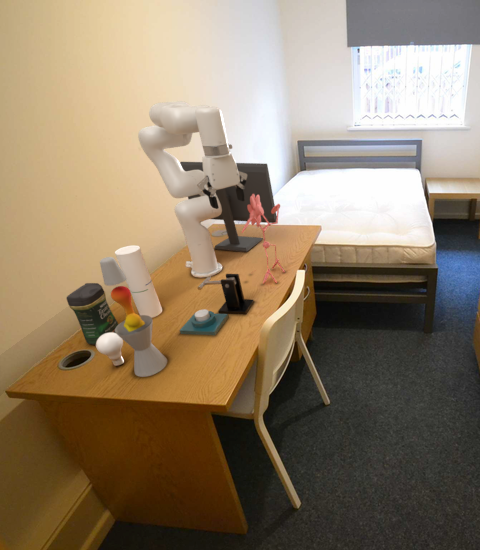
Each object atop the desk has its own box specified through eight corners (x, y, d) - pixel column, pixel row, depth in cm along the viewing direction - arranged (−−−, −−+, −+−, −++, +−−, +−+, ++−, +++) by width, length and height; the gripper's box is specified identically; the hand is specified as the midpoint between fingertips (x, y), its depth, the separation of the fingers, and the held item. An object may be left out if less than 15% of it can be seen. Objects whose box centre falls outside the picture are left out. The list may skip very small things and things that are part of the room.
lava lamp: (128, 367, 106) (79, 260, 89) (160, 351, 112) (120, 248, 95) (140, 382, 101) (90, 271, 84) (173, 364, 107) (133, 257, 90)
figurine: (293, 263, 162) (282, 185, 145) (271, 293, 140) (255, 206, 123) (260, 261, 164) (245, 184, 147) (234, 291, 142) (213, 205, 125)
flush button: (193, 321, 120) (191, 316, 119) (200, 314, 124) (198, 309, 123) (206, 322, 120) (204, 317, 119) (212, 314, 123) (211, 309, 122)
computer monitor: (286, 241, 184) (274, 160, 165) (272, 255, 170) (257, 168, 151) (210, 235, 193) (190, 158, 174) (191, 248, 180) (167, 165, 160)
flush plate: (180, 334, 119) (177, 325, 118) (196, 316, 128) (193, 308, 126) (215, 335, 118) (212, 326, 117) (228, 317, 127) (226, 309, 125)
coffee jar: (107, 346, 115) (83, 296, 106) (83, 346, 115) (57, 297, 106) (125, 327, 123) (105, 280, 114) (103, 327, 124) (80, 280, 115)
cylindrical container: (166, 309, 133) (144, 246, 121) (150, 320, 127) (126, 255, 115) (151, 305, 135) (128, 244, 123) (135, 316, 129) (109, 253, 117)
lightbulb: (114, 357, 110) (100, 328, 105) (135, 356, 110) (122, 327, 105) (102, 372, 105) (87, 342, 99) (125, 371, 105) (111, 341, 100)
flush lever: (198, 291, 126) (196, 285, 125) (208, 281, 132) (206, 275, 131) (231, 289, 124) (229, 283, 123) (239, 279, 130) (237, 273, 129)
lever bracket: (218, 313, 129) (210, 282, 123) (228, 301, 136) (221, 271, 130) (245, 314, 128) (238, 283, 122) (254, 302, 135) (247, 272, 129)
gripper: (234, 145, 121) (244, 196, 129) (183, 154, 109) (198, 209, 118) (247, 147, 116) (257, 199, 125) (196, 156, 105) (210, 213, 113)
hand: (228, 204), depth 121 cm, fingers open, 9 cm apart
